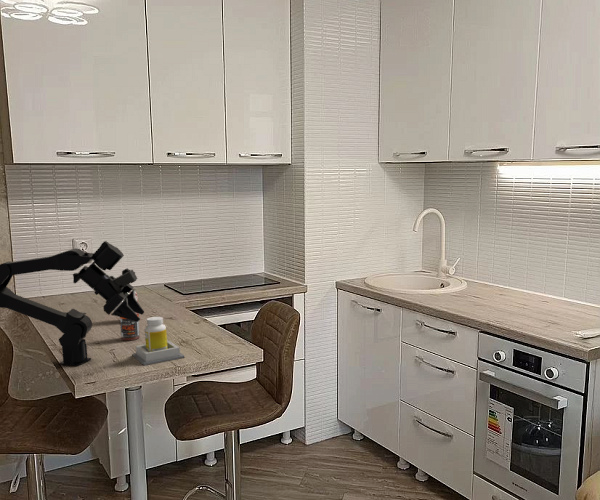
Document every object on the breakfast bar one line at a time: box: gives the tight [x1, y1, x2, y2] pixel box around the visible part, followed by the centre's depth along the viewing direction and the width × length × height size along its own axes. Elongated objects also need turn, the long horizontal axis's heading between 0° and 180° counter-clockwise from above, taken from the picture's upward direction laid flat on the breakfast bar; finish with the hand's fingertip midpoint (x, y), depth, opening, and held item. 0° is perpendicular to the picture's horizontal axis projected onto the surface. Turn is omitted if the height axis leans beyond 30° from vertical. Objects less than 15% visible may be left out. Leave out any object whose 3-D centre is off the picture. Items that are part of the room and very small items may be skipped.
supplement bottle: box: [119, 312, 141, 342], centre depth 193 cm, size 6×6×11 cm
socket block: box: [131, 339, 185, 366], centre depth 172 cm, size 12×12×3 cm
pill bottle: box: [144, 316, 168, 352], centre depth 171 cm, size 6×6×11 cm
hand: (141, 316), depth 170 cm, fingers open, 9 cm apart
